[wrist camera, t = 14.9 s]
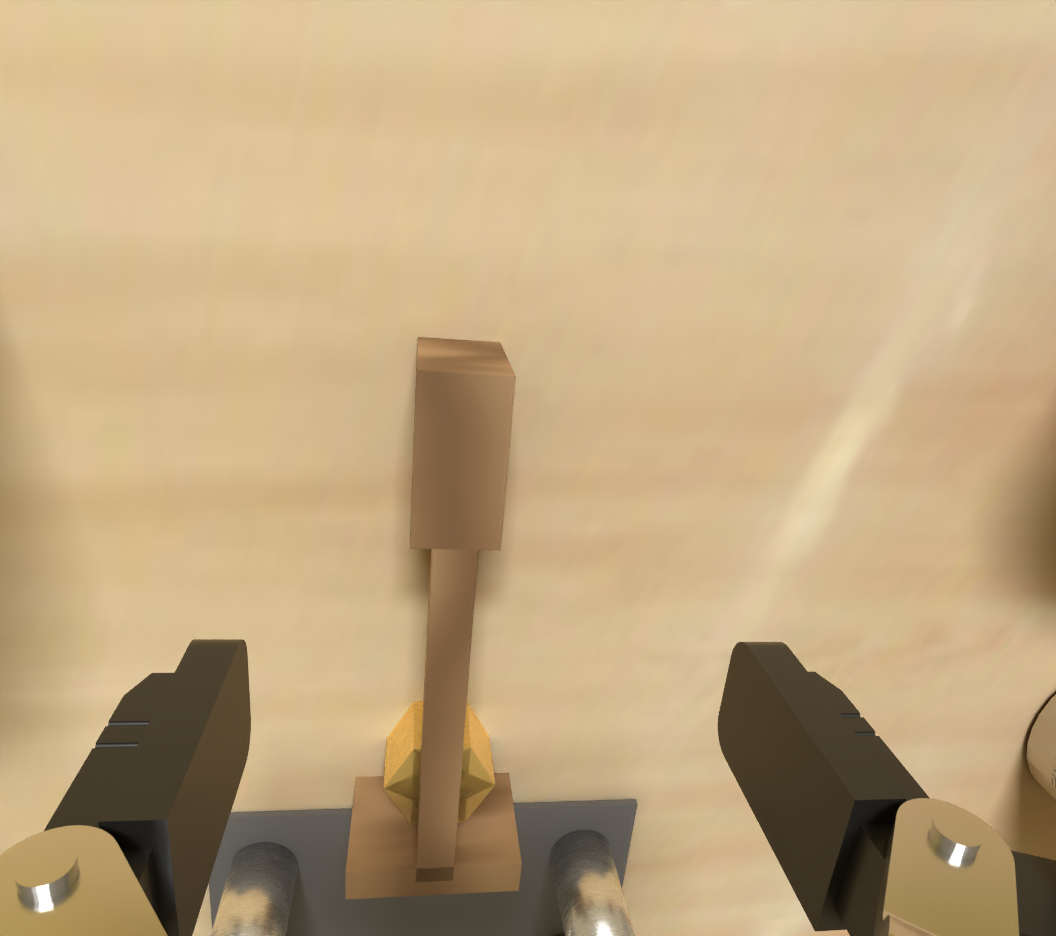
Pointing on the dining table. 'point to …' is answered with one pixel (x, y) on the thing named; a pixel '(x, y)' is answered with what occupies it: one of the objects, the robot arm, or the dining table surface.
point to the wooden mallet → (447, 637)
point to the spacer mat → (431, 920)
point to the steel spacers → (577, 862)
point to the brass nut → (407, 757)
